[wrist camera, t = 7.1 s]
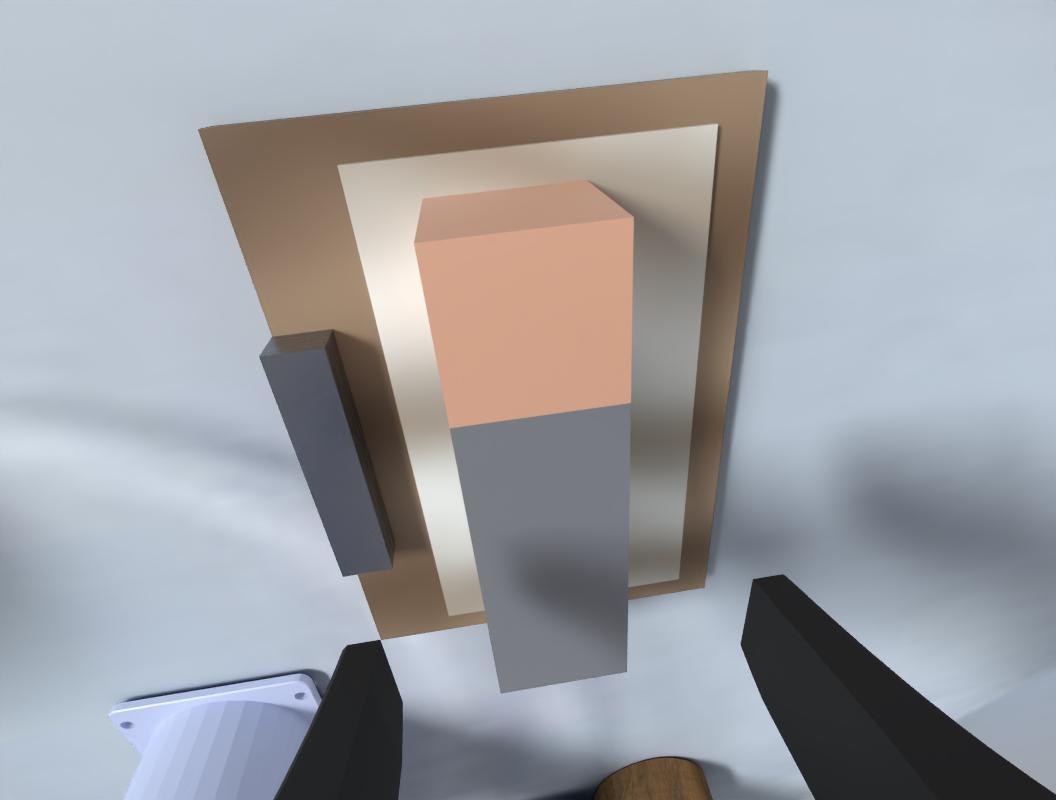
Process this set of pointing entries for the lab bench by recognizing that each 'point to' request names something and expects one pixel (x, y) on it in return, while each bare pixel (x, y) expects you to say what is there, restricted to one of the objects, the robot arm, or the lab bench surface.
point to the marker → (539, 414)
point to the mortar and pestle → (656, 782)
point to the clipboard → (404, 331)
